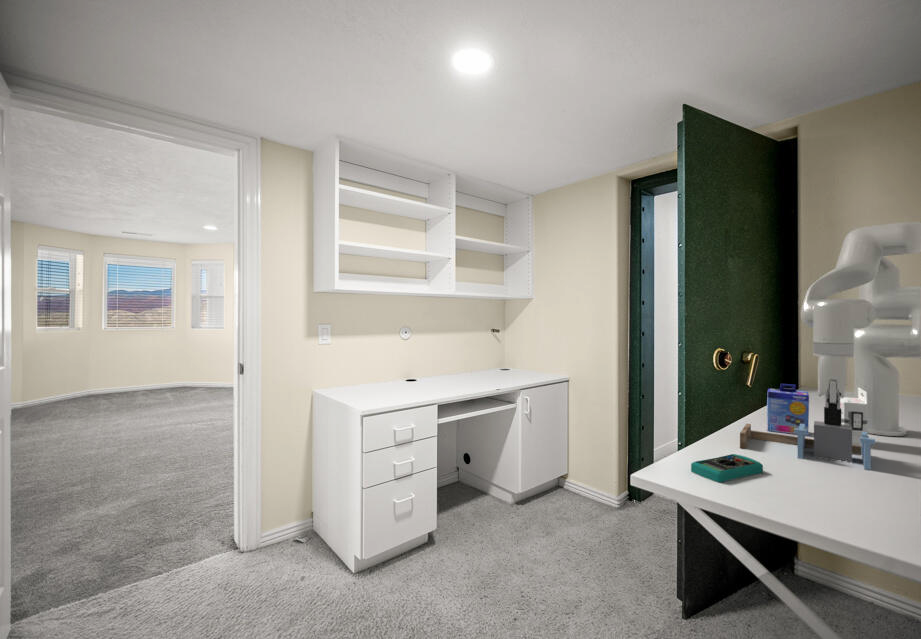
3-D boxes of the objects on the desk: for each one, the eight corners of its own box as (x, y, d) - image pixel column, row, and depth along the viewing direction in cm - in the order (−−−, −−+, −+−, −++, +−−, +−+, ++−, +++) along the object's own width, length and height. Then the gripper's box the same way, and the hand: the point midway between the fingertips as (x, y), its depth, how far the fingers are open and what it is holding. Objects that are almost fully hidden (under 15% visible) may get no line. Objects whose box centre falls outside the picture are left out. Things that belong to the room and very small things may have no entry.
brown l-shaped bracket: (747, 436, 123) (747, 422, 123) (866, 454, 107) (866, 439, 107) (739, 448, 113) (739, 433, 113) (870, 470, 97) (870, 452, 97)
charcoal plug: (814, 451, 110) (814, 420, 109) (851, 457, 105) (851, 425, 105) (813, 456, 106) (813, 424, 106) (851, 462, 102) (852, 429, 101)
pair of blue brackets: (796, 445, 115) (796, 419, 115) (870, 456, 105) (871, 428, 105) (793, 457, 106) (794, 429, 106) (874, 470, 96) (875, 440, 96)
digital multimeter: (765, 474, 96) (765, 461, 96) (719, 485, 91) (719, 471, 91) (734, 464, 103) (734, 451, 103) (689, 473, 98) (689, 460, 98)
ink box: (835, 437, 122) (835, 385, 121) (858, 439, 119) (859, 386, 119) (843, 445, 114) (843, 390, 114) (868, 448, 112) (868, 392, 111)
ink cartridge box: (767, 431, 128) (767, 383, 128) (767, 427, 132) (767, 380, 132) (809, 436, 122) (809, 386, 122) (808, 432, 127) (808, 383, 126)
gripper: (813, 347, 113) (813, 415, 114) (812, 352, 102) (812, 428, 102) (852, 348, 108) (851, 420, 109) (855, 353, 97) (854, 434, 97)
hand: (832, 424), depth 106 cm, fingers closed
